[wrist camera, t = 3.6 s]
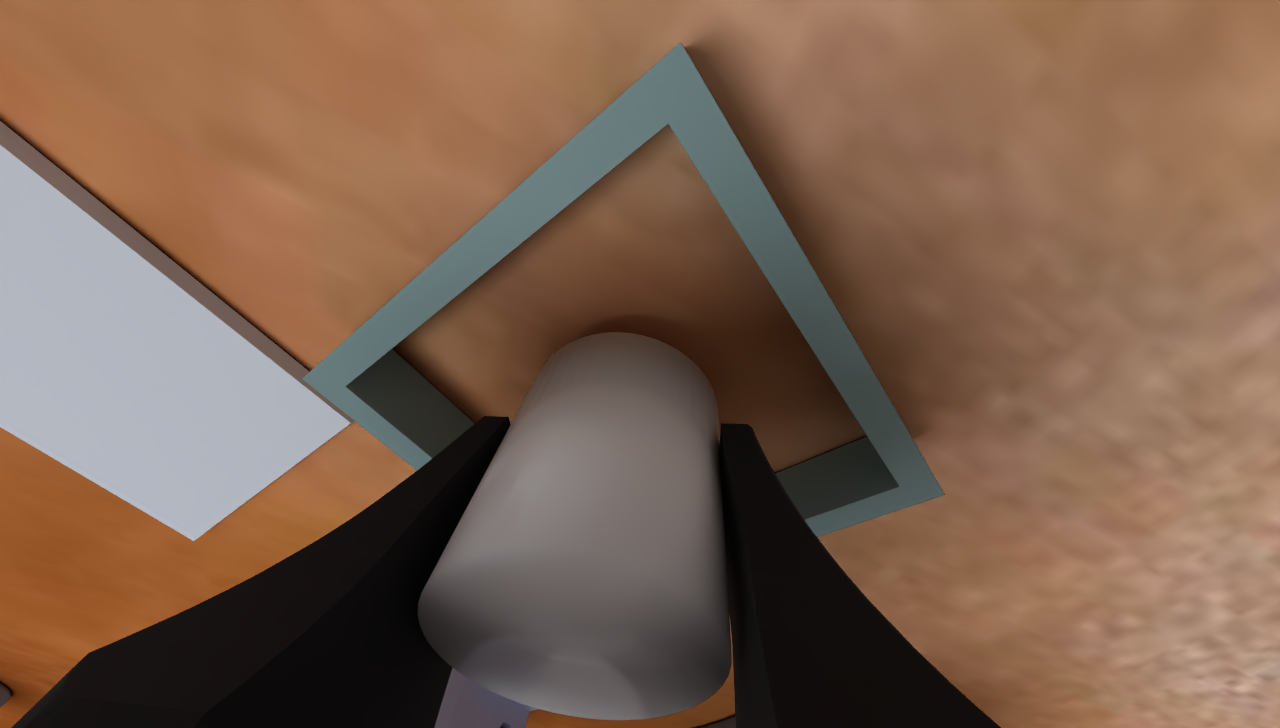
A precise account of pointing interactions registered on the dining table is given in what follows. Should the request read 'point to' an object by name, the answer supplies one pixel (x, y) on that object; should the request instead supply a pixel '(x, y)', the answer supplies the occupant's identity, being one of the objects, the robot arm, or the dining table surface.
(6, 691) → the travel mug
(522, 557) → the jug
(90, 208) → the mat
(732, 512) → the robot arm
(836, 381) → the holder
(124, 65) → the dining table surface
